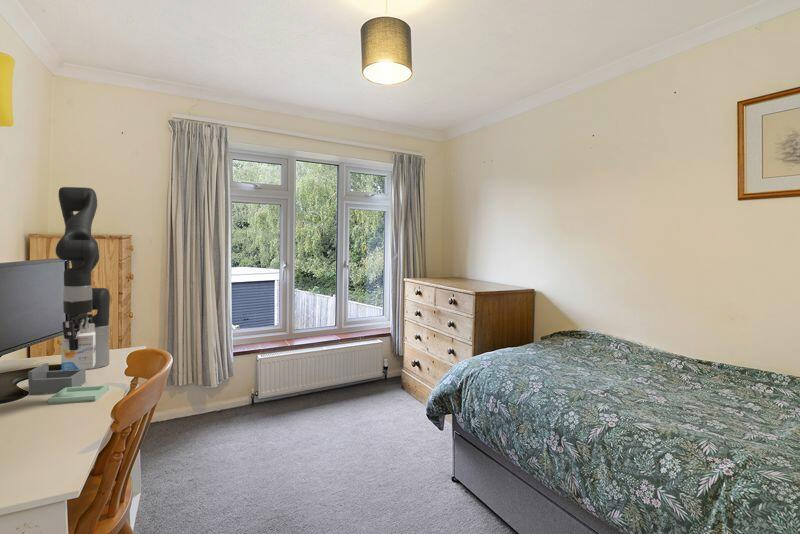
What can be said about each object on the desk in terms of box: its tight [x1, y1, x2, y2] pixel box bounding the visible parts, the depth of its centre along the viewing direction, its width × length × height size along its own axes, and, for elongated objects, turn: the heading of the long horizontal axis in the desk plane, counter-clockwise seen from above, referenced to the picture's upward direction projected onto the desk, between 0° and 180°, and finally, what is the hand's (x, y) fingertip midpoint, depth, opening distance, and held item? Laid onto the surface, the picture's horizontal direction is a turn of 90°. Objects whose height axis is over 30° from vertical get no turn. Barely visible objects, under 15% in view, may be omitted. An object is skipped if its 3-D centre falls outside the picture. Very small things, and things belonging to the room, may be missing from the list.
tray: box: [47, 384, 110, 405], centre depth 130 cm, size 10×13×2 cm
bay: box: [27, 362, 87, 395], centre depth 136 cm, size 9×12×8 cm
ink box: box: [61, 323, 96, 371], centre depth 129 cm, size 8×5×15 cm, turn 122°
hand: (78, 347), depth 129 cm, fingers closed on ink box, 5 cm apart
